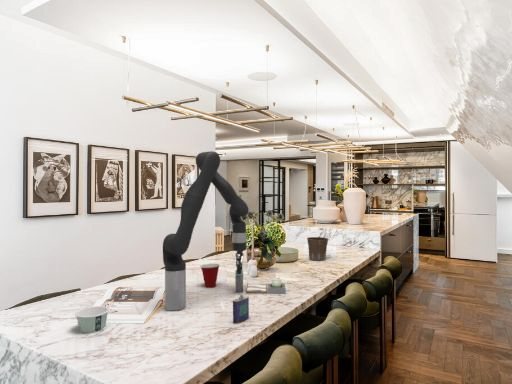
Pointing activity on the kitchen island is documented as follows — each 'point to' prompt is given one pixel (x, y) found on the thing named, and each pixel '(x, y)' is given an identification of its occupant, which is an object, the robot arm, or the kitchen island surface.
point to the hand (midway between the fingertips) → (239, 272)
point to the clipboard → (256, 288)
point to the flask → (240, 309)
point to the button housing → (276, 289)
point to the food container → (92, 318)
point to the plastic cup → (210, 274)
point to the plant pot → (317, 248)
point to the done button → (276, 283)
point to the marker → (239, 282)
